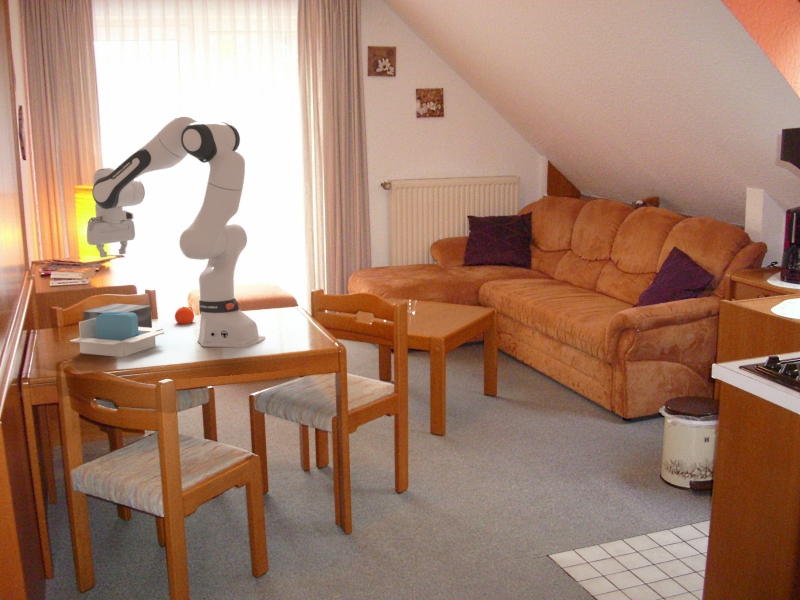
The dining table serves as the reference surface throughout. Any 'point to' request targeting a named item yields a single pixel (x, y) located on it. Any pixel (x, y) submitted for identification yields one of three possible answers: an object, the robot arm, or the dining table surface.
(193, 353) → the dining table surface
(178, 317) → the clementine
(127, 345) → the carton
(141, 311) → the riser
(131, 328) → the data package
